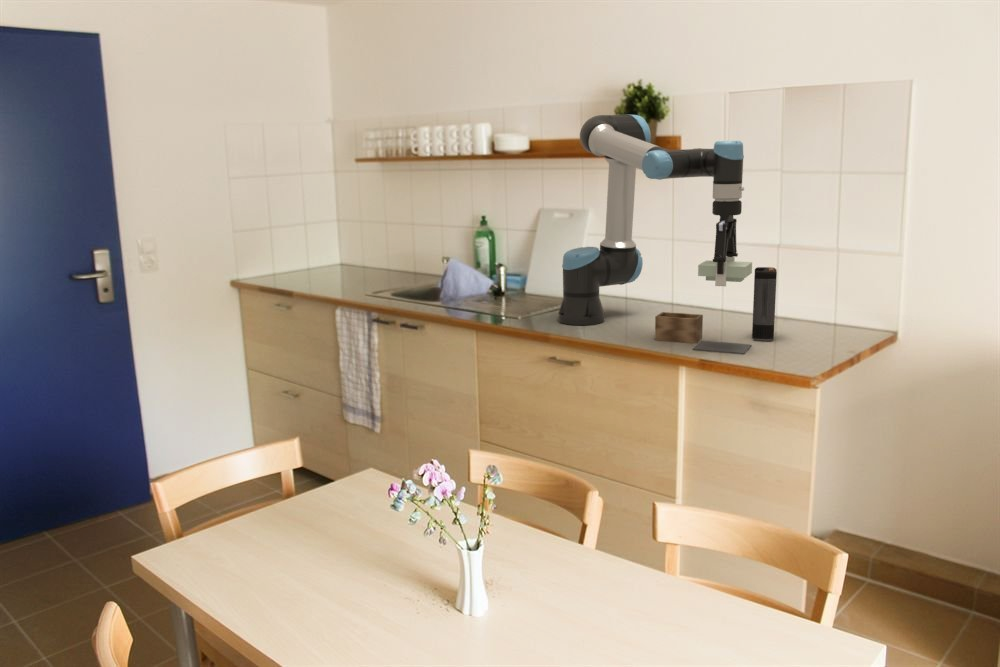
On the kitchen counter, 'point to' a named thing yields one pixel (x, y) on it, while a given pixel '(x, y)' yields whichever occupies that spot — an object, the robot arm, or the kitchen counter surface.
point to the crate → (678, 327)
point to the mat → (722, 347)
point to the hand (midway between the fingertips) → (724, 283)
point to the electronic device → (764, 304)
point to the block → (733, 273)
